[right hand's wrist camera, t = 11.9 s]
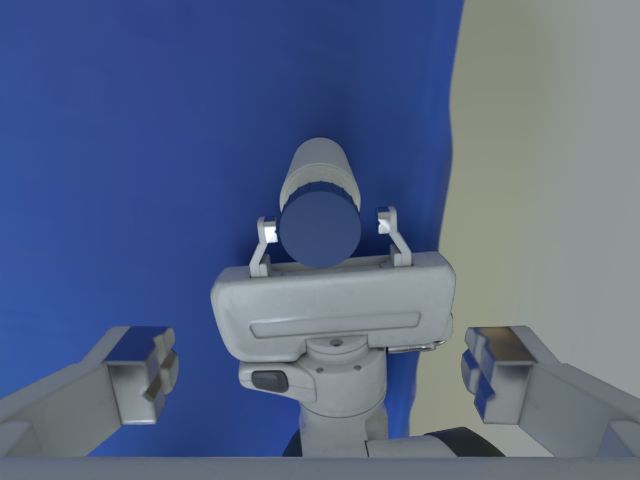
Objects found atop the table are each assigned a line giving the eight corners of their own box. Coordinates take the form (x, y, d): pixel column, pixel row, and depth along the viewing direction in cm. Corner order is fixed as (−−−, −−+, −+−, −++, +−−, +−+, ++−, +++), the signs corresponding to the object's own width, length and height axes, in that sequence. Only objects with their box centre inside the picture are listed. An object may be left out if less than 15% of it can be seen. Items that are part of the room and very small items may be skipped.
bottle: (355, 178, 36) (384, 250, 20) (307, 200, 37) (297, 286, 21) (333, 127, 34) (345, 162, 18) (283, 151, 35) (253, 205, 19)
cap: (370, 235, 22) (375, 250, 20) (302, 263, 22) (300, 281, 20) (339, 166, 20) (342, 175, 18) (268, 199, 21) (263, 211, 19)
